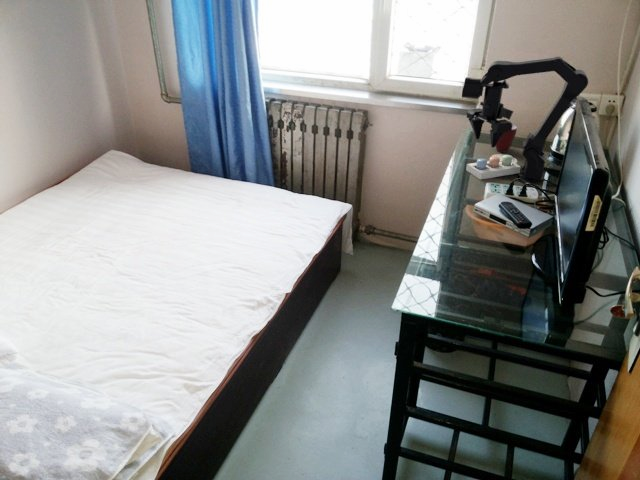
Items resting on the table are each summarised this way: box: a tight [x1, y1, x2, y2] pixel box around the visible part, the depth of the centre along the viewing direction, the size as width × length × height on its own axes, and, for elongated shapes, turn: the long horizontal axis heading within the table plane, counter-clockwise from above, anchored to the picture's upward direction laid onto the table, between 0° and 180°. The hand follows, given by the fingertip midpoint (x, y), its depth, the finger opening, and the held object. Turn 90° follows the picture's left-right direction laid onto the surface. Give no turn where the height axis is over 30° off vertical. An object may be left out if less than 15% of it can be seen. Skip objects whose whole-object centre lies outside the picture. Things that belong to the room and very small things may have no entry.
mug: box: [495, 124, 518, 153], centre depth 209 cm, size 10×8×10 cm
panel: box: [465, 160, 521, 180], centre depth 192 cm, size 9×17×2 cm, turn 110°
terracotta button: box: [488, 156, 501, 168], centre depth 190 cm, size 4×4×3 cm
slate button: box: [475, 158, 488, 170], centre depth 189 cm, size 4×4×3 cm
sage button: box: [501, 154, 513, 166], centre depth 192 cm, size 4×4×3 cm
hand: (485, 143), depth 186 cm, fingers open, 9 cm apart
